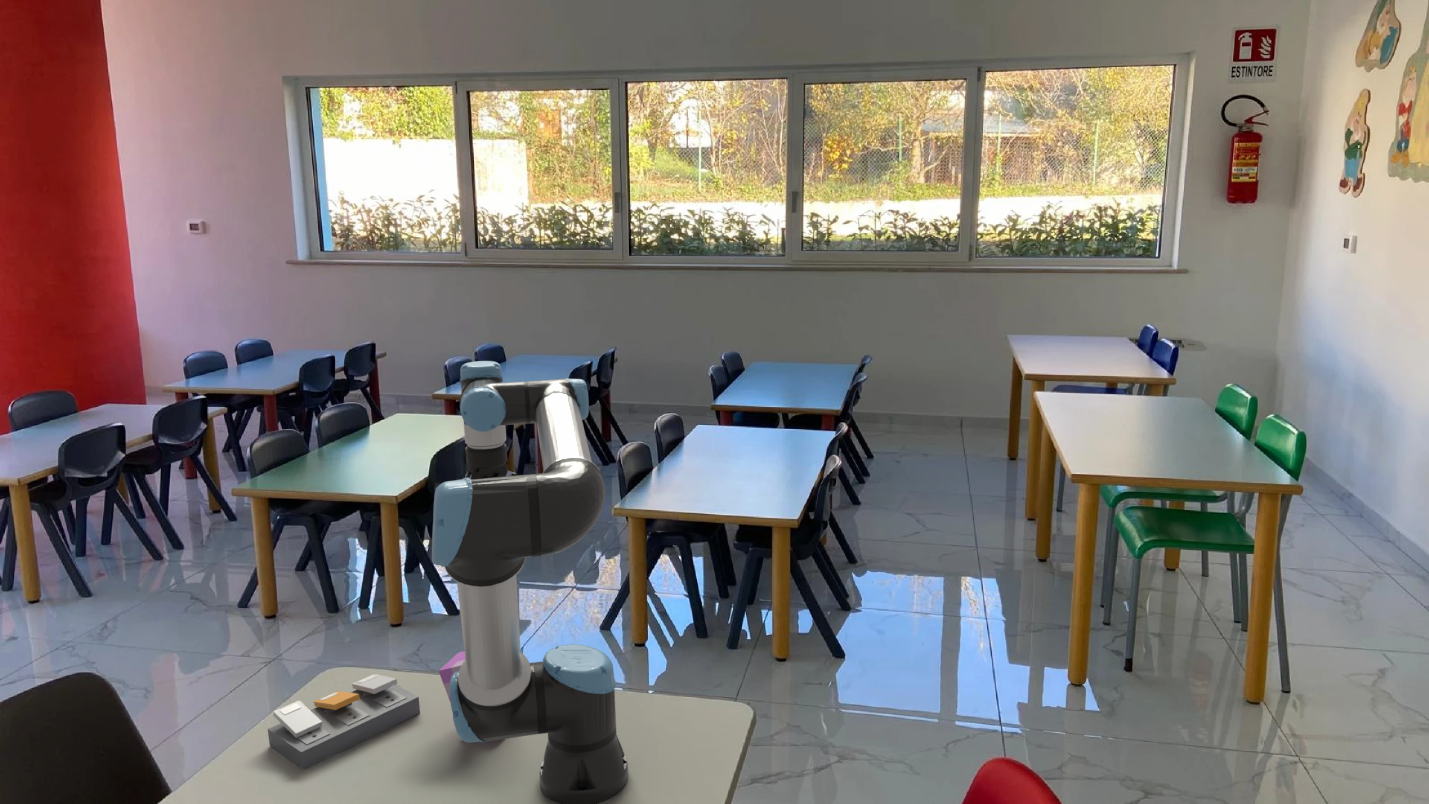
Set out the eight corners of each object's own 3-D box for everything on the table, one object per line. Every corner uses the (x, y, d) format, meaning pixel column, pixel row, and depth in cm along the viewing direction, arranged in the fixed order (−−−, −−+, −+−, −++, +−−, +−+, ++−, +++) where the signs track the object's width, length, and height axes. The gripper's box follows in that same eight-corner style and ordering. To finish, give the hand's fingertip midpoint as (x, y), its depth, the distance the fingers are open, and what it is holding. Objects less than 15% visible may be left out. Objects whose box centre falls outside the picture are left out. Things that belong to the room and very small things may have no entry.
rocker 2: (359, 699, 186) (358, 693, 186) (335, 709, 182) (334, 704, 182) (339, 696, 191) (337, 690, 191) (314, 706, 187) (313, 701, 187)
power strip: (420, 713, 191) (418, 693, 190) (303, 769, 173) (300, 748, 172) (385, 693, 198) (383, 674, 198) (269, 746, 180) (267, 725, 179)
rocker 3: (397, 683, 192) (396, 678, 192) (374, 694, 188) (373, 688, 188) (375, 678, 197) (374, 673, 197) (352, 688, 193) (351, 683, 193)
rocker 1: (322, 726, 180) (322, 721, 179) (296, 737, 176) (296, 732, 176) (299, 704, 184) (299, 699, 184) (273, 715, 181) (273, 710, 180)
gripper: (500, 433, 191) (507, 548, 196) (444, 448, 181) (453, 568, 186) (526, 439, 186) (532, 556, 191) (469, 454, 176) (478, 577, 182)
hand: (493, 562), depth 189 cm, fingers closed
